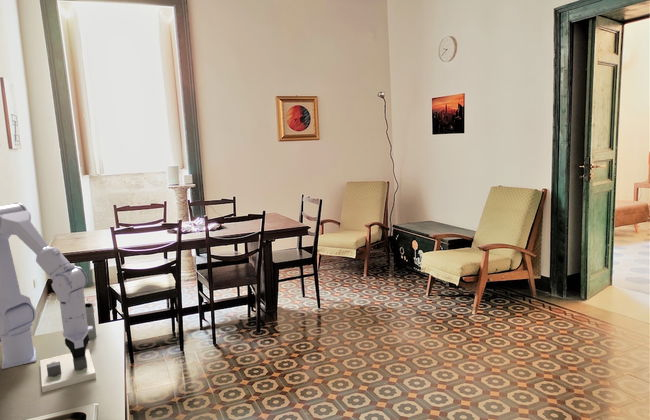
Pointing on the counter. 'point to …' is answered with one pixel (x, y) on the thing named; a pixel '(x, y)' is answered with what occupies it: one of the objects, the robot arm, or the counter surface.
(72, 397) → the counter surface
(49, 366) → the block
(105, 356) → the counter surface
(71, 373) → the panel
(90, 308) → the planter
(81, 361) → the block
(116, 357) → the counter surface
